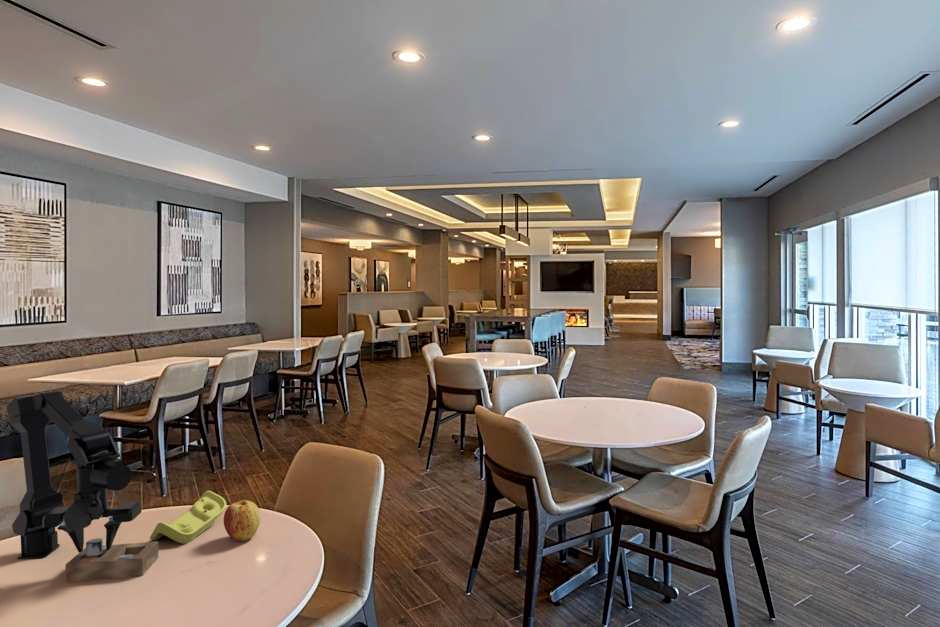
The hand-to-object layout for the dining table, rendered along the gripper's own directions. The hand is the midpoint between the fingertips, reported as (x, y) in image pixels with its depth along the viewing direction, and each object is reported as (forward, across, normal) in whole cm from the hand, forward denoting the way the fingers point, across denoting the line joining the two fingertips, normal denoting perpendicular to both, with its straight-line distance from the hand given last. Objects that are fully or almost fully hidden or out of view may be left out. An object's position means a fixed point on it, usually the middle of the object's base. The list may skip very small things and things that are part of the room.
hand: (94, 550), depth 130 cm
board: (+5, +4, 0) cm, 6 cm away
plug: (+5, 0, 0) cm, 5 cm away
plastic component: (+5, +15, +21) cm, 26 cm away
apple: (+5, +30, +12) cm, 33 cm away
